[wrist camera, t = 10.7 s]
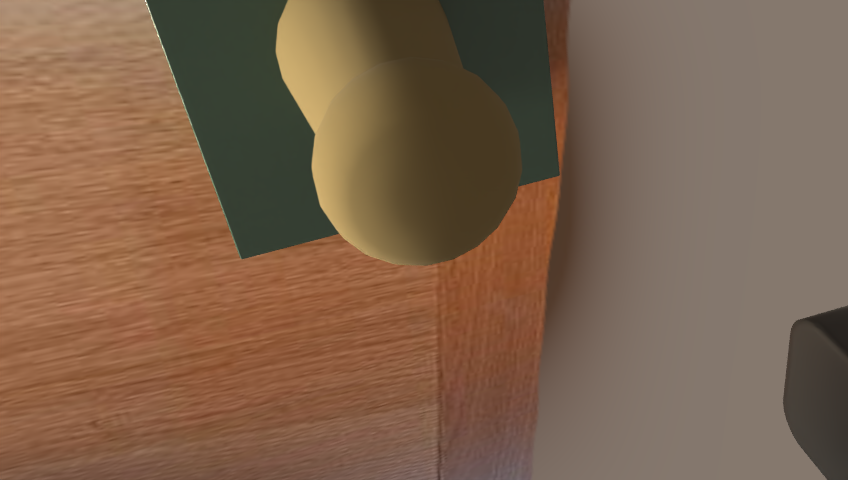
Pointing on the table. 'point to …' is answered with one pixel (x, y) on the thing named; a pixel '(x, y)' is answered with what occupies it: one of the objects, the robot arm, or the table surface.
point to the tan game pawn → (398, 127)
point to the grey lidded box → (288, 127)
